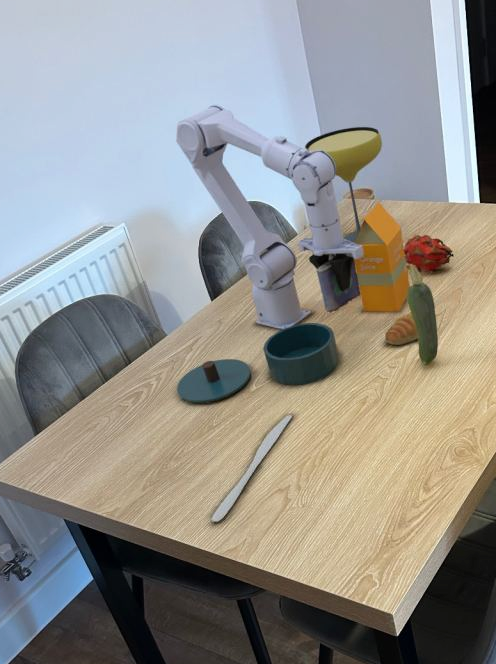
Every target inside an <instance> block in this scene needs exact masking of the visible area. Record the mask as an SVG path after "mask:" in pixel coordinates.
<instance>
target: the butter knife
mask: <svg viewBox="0 0 496 664" xmlns="http://www.w3.org/2000/svg"><path fill="white" fill-rule="evenodd" d="M292 417H293V415H292V414H289V415H286V416H285V417H284V418H283V419H282V420H280V422H278V423H277V425H275V426H274V427H273V428H272V429H271V430H270V431H269V432H268V433H267V435H266V436H265V437H264V439H263V441H262V443H261V444H260V446H259V447H258V448H257V450H256V452H255V455H254V457H253V460H252V461H251V462H250V465H249V466H248V469H247V470H246V472H245V473H244V475H243V476H242V478H240V480H239V481H238V482H237V483H236V485H235V486H234V487H233V488H232V489H231V490H230V492H228V494H227V496H226V497H225V498H224V500H223V501H222V502H221V504H220V505H219V506H218V508H216V511H215V512H214V513H213V515H212V517H211V521H212V523H213V522H214V523H218V522H220V521H221V520H222V519H223V518H224V517H225V516H226V515H227V514H228V512H229V511H230V510H231V508H232V507H233V505H234V504H235V502H236V501H237V499H238V498H239V496H240V494H241V493H242V491H243V490H244V488H245V486H246V485H247V482H248V481H249V479H250V478H251V476H252V474H253V473H254V472H255V470H256V469H257V467H258V466H259V464H260V463H261V462H262V460H263V459H264V457H265V456H266V455H267V453H268V452H269V451H270V449H271V448H272V447H273V445H274V444H275V443H276V442H277V440H278V438H279V437H280V435H281V433H282V432H283V431H284V429H285V428H286V426H287V424H288V423H289V422H290V420H291V418H292Z"/></svg>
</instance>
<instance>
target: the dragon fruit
mask: <svg viewBox="0 0 496 664" xmlns="http://www.w3.org/2000/svg"><path fill="white" fill-rule="evenodd" d="M404 253H405V258H406V264H411V265H414V266H415V267H416V268H417V270H418V272H419V273H420V274H421V271H422V270H423V271H427V272H428V273H429V272H430V273H432V274H434V273H439V272H442V271H444V269H443V268H440V267H441V266H445V265H446V264H450V262H451V261H450V258H451V257H453V258H454V257H455V256H454V253H453V250H452V249H451V248H450V247H449V246H447V244H444V241H443V240H441V239H440V238H432V237H431V236H430V235H428V234H423V236H421V235H419V234H415V235H413V237H412V238H408V240H407V241H406V243H405V244H404Z"/></svg>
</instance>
